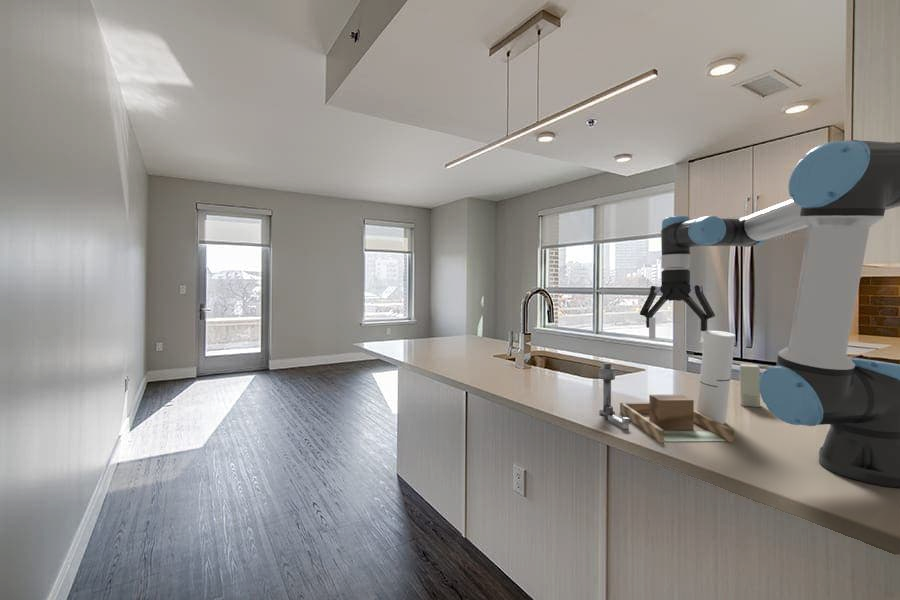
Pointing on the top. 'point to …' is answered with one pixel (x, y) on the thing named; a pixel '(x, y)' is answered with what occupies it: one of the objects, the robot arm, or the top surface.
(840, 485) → the top surface
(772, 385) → the robot arm
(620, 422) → the crank handle
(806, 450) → the top surface
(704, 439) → the bay
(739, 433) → the top surface
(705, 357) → the cylindrical container
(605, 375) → the post
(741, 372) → the box
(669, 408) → the block
